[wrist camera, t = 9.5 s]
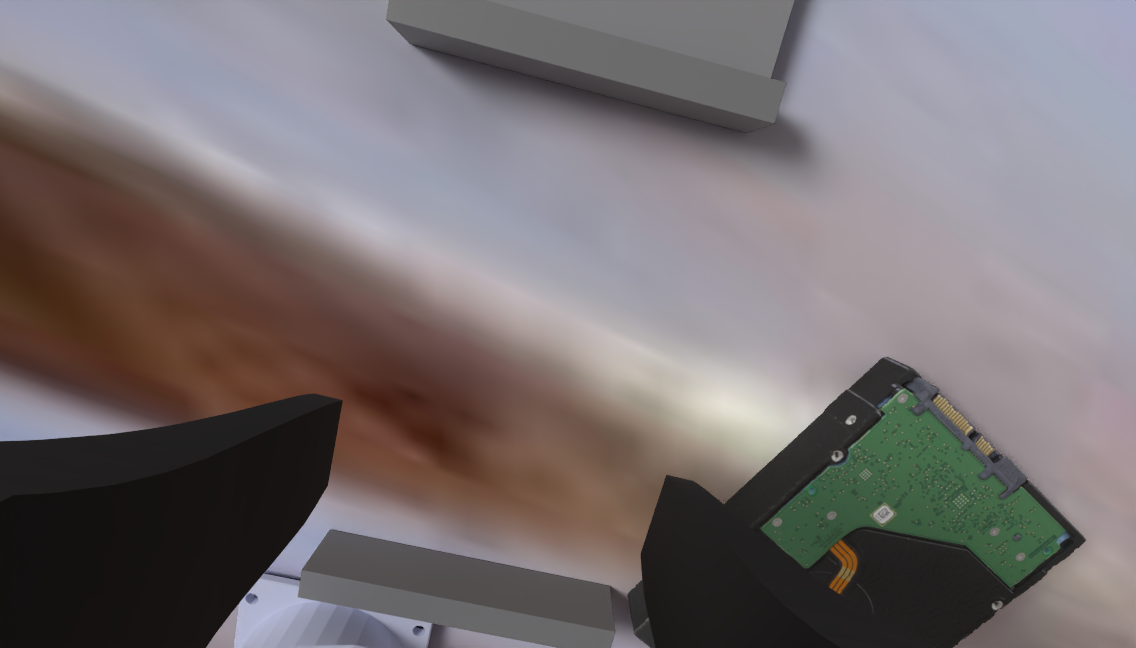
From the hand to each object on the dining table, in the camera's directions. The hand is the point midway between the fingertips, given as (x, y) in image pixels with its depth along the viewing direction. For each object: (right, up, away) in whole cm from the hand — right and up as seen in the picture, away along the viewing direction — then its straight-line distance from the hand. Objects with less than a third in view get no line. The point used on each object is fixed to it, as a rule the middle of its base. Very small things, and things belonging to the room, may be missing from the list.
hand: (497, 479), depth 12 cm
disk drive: (+13, -6, +12) cm, 19 cm away
